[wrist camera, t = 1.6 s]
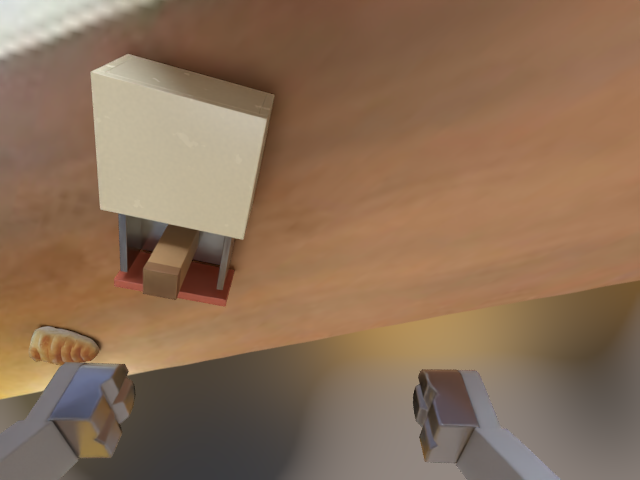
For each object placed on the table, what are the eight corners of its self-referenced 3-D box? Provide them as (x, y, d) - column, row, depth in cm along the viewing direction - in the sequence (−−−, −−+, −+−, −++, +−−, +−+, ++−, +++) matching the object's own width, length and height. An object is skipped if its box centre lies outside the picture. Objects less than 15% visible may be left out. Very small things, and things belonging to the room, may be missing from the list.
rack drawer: (232, 282, 54) (224, 313, 49) (132, 263, 52) (114, 293, 47) (247, 201, 46) (240, 228, 41) (131, 174, 44) (109, 199, 39)
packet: (171, 217, 46) (142, 268, 38) (200, 223, 47) (177, 275, 39) (170, 240, 48) (142, 293, 40) (198, 246, 49) (175, 300, 41)
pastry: (99, 331, 61) (87, 351, 58) (103, 357, 65) (92, 377, 62) (35, 323, 60) (20, 342, 57) (44, 349, 64) (30, 369, 61)
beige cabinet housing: (252, 203, 47) (243, 240, 41) (129, 175, 45) (99, 209, 39) (274, 94, 40) (267, 119, 34) (127, 53, 37) (90, 71, 31)
